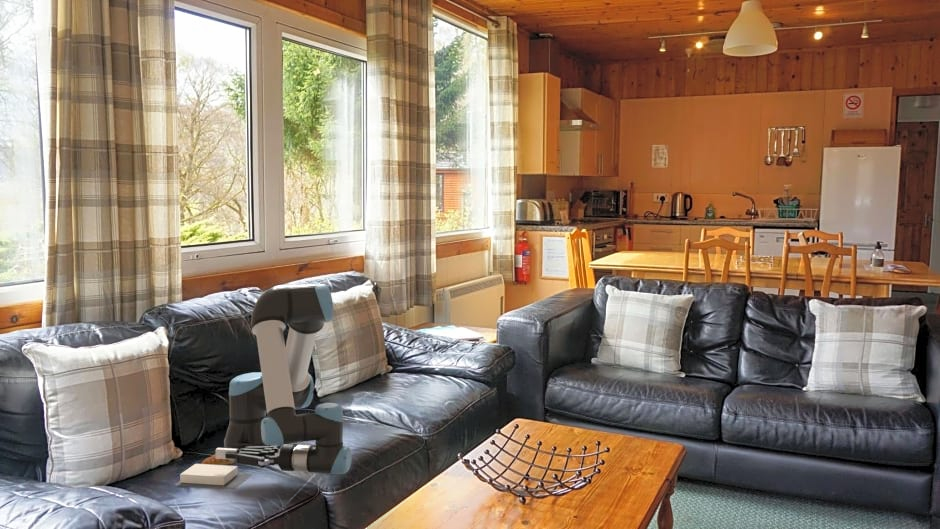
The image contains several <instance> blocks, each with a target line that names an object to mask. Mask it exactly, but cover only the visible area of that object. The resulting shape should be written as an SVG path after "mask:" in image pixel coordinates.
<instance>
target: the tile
mask: <svg viewBox="0 0 940 529" xmlns="http://www.w3.org/2000/svg"><path fill="white" fill-rule="evenodd" d="M238 467H239V466H238V465H210V464H201V463H194V464H193V465H191V466H190V467H189V468H187V469H186V470H184V471H183V472H181V473H180V474H179V478H180V479H179V481H180V482H181V483H187V484H202V485H218V486H222V485H225V484H226V483H227V482H229V481H230V480H231V479H232V478H234V477H235V476H236V475H237V474H238V472H239V468H238Z"/></svg>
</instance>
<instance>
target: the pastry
mask: <svg viewBox="0 0 940 529" xmlns="http://www.w3.org/2000/svg"><path fill="white" fill-rule="evenodd" d="M234 463H235V460H232V459H216V453H214V454H213V455H211V456H208V457H207V458H205V459H203V460H202V462H201V463H200V464H210V465H226V466H230V465H232V464H234Z"/></svg>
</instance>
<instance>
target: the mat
mask: <svg viewBox="0 0 940 529" xmlns="http://www.w3.org/2000/svg"><path fill="white" fill-rule="evenodd" d="M251 476H253V474H251V473H240V472H239V473H238V474H237V475H236V476H235V477H234V478H232V479H231V480H230V481H229V482H227V483H226V484H225V485H222V486H218V485H202V484H187V483H181V482H180V480H179V481H178V482H176V483H174V486H176V487H177V486H178V487H179V486H180V487H194V488H195V487H196V488H209V489H225V490H237V488H238V487H240V486H241V485H242V484H243V483H244V482H245V481H247V480H248V479H249V478H250V477H251Z"/></svg>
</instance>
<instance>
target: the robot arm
mask: <svg viewBox="0 0 940 529" xmlns="http://www.w3.org/2000/svg"><path fill="white" fill-rule="evenodd" d="M333 319H334V302H333V297H332V293H331V289H330V288H329V286H327V285H326V284H319V283H318V284H317V283H314V284H289V285H284V284H280V285H275V286H272V287H270V288H268V289H266V290H265V291H264V292H263V293H262V294H260V297H259V298H258V299H257V301H256V303H254V306H253V310H252V312H251V319H250V325H251V332H252V334H253V335H254V336H256V343H257V349H258V358H259V364H260V371H259V372H258V371H257V372H255V371H254V372H253V371H252V372H248V373H243V374H240V375H237V376H235V377H234V378H232V379H231V380H230V381H229V386H228V387H229V388H228V398H229V399H228V400H229V424H228V427H227V430H226V433H225V437H224V439H223V444H224V445H223V447H217V448H216V449H215V454H216V459H232V460H234V461H235V463H236V464H240V465H247V466H252V467H258V468H261V469H264V468H266V465H268V466H275V465H278V467H279V469H280V471H283V472H294V471H295V472H303V473H304V474H308V473H317V474H329V475H344V474H347V473H348V471H349V470H350V468H351V465H352V459H353V458H352V457H353V456H352V455H353V454H352V450H351V447H348V446H345V445H344V442H343V439H344V438H343V434H344V432H343V430H344V416H343V407H342V405H341V404H339V403H336V402H323V403H319V404H317V405H316V406H315V408H314V412H310V413H309V412H308V413H307V412H306V413H300V414H296V410H300V409H303V408H308V407H309V405H311V403H312V401H313V398H314V391H315V387H314V386H315V385H314V379H313V376H312V375H311V374H310V373H309V367H310V363H311V358H312V354H313V349H314V346H315V342H316V338H317V334H318V333H319V332H320V331H321V330H323V328H324V325H325V323H329V322H332V321H333ZM286 325H287V327H288V328H289V329H288V333H287V334H288V335H287V338H286V342H285V336H284V331H285V329H286V328H287V327H286ZM312 441H314V442H315V443H314V444H308V443H307V444H306V443H305V444H304V442H312ZM296 443H299V444H296ZM269 445H270V446H269Z"/></svg>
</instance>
